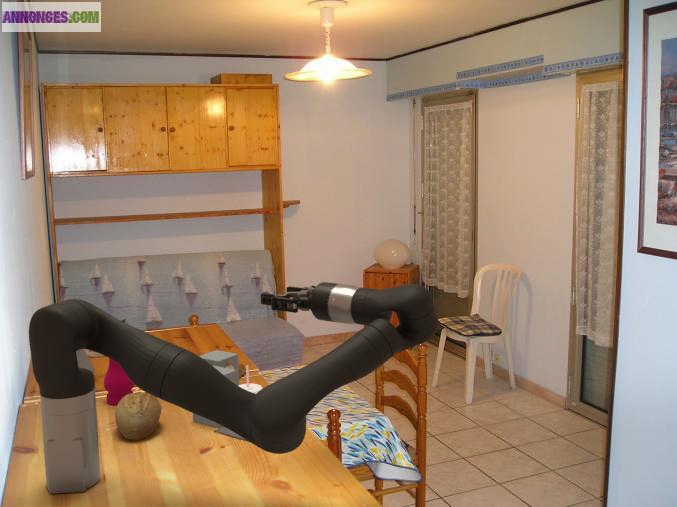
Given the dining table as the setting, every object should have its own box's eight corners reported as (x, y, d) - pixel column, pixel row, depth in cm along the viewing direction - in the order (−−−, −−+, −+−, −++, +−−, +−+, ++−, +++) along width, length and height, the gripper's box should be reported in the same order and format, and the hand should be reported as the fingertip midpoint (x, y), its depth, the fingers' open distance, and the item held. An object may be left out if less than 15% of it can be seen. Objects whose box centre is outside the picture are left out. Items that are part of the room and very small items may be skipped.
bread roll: (159, 414, 160) (158, 381, 158) (164, 439, 145) (162, 402, 144) (115, 419, 157) (114, 385, 156) (116, 445, 143) (114, 408, 141)
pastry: (238, 383, 182) (238, 369, 181) (213, 382, 182) (212, 368, 182) (247, 372, 191) (246, 358, 190) (223, 371, 192) (222, 358, 191)
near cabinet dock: (284, 425, 152) (283, 376, 151) (251, 442, 143) (249, 390, 142) (221, 408, 163) (219, 363, 161) (186, 423, 154) (184, 375, 152)
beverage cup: (232, 424, 152) (230, 362, 150) (260, 421, 154) (258, 359, 152) (237, 435, 146) (235, 371, 144) (266, 431, 148) (264, 367, 146)
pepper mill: (126, 406, 165) (122, 324, 162) (98, 404, 166) (93, 323, 163) (141, 396, 172) (137, 317, 169) (114, 394, 173) (109, 316, 170)
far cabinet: (241, 398, 170) (239, 354, 168) (221, 406, 164) (219, 361, 162) (218, 392, 174) (216, 350, 172) (198, 400, 168) (196, 356, 166)
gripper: (319, 330, 129) (252, 319, 138) (359, 315, 141) (296, 306, 150) (319, 290, 128) (251, 282, 137) (359, 278, 140) (295, 272, 149)
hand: (274, 294), depth 143 cm, fingers open, 8 cm apart
